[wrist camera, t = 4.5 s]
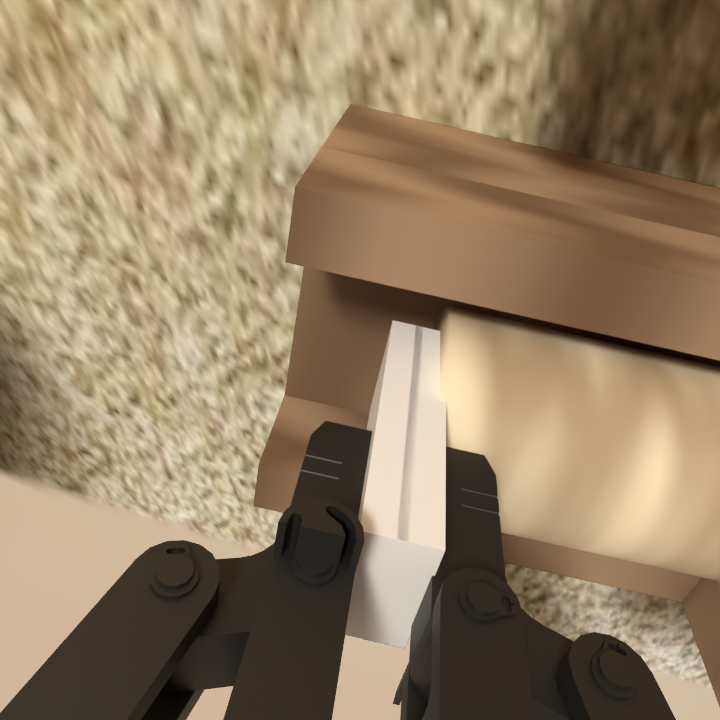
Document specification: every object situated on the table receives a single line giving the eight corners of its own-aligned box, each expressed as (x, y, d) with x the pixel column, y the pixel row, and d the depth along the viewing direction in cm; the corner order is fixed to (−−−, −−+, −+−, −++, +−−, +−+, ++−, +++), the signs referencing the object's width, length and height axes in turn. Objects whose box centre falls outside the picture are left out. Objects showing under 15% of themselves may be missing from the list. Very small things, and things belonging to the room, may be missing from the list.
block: (308, 350, 23) (192, 677, 13) (350, 104, 18) (216, 305, 8) (742, 448, 23) (987, 854, 13) (902, 229, 18) (1524, 601, 8)
